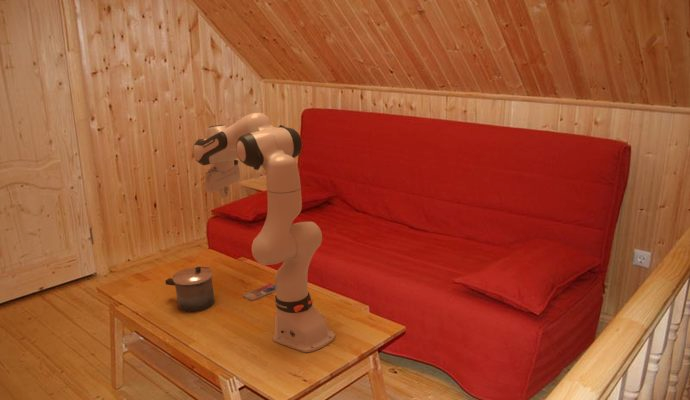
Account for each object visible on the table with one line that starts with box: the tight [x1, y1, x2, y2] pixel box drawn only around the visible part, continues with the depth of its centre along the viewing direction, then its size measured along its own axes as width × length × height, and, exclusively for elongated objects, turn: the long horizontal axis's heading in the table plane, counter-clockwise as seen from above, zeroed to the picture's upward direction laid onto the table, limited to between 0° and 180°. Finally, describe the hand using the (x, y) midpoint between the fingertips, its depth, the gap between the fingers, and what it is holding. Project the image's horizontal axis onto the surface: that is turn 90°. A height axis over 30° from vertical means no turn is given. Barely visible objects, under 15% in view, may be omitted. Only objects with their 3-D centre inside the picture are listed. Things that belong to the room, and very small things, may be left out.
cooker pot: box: [165, 277, 216, 313], centre depth 221 cm, size 14×20×11 cm
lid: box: [172, 266, 213, 285], centre depth 218 cm, size 16×15×3 cm
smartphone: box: [242, 283, 276, 302], centre depth 228 cm, size 7×1×15 cm
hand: (224, 197), depth 231 cm, fingers closed
